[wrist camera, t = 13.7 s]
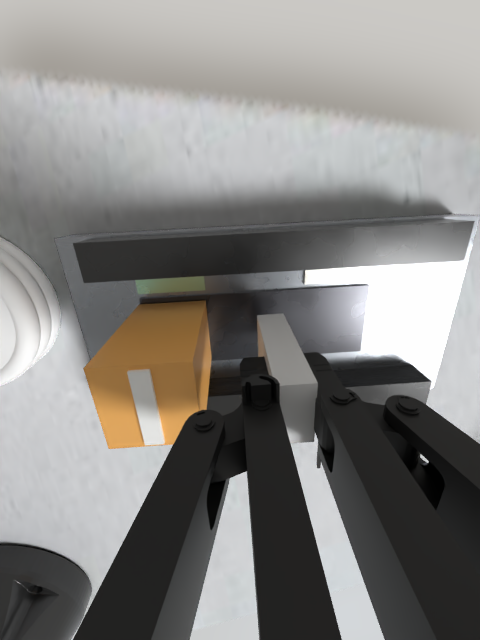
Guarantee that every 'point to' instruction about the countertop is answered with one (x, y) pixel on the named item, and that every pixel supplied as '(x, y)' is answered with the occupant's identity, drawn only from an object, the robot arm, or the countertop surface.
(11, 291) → the coaster
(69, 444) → the countertop surface
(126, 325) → the lever
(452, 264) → the panel
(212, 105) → the countertop surface
